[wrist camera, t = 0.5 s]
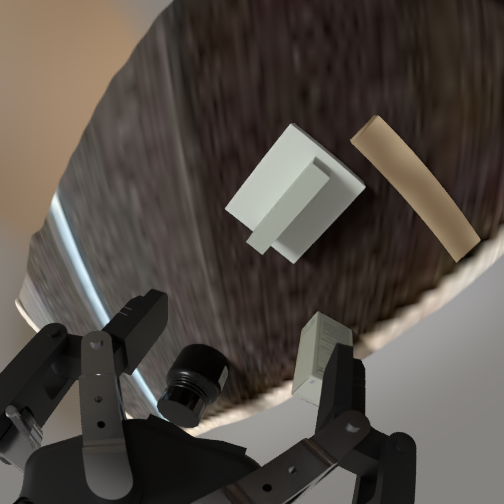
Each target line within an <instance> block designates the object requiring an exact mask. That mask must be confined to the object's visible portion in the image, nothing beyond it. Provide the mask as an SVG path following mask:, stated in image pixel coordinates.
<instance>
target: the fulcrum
mask: <svg viewBox="0 0 504 504" xmlns="http://www.w3.org/2000/svg"><path fill="white" fill-rule="evenodd" d="M364 188H365V184H364V182H363V181H362V180H361V179H360V178H359V177H358V176H357V175H356V174H355V173H354V172H352V171H351V170H350V169H349V168H348V167H347V166H346V165H344V164H343V163H342V162H341V161H340V160H339V159H338V158H336V157H335V156H334V155H333V154H332V153H330V152H329V151H328V150H327V149H326V148H324V147H323V146H322V145H321V144H320V143H318V142H317V141H316V140H315V139H313V138H312V137H311V136H310V135H308V134H307V133H306V132H305V131H303V130H302V129H301V128H300V127H298V126H297V125H296V124H294V123H292V124H290V125H289V126H288V128H287V129H286V130H285V131H284V133H283V134H282V135H281V136H280V138H279V139H278V140H277V142H276V143H275V144H274V145H273V147H272V148H271V149H270V150H269V152H268V153H267V154H266V156H265V157H264V158H263V159H262V161H261V162H260V163H259V165H258V166H257V167H256V168H255V170H254V171H253V172H252V174H251V175H250V176H249V178H248V179H247V180H246V181H245V183H244V184H243V185H242V187H241V188H240V189H239V191H238V192H237V193H236V195H235V196H234V197H233V199H232V200H231V201H230V203H229V204H228V205H227V207H226V208H225V209H226V210H227V211H228V212H229V213H231V214H232V215H233V216H235V217H236V218H237V219H238V220H240V221H241V222H242V223H243V224H245V225H246V226H247V227H248V228H250V229H251V230H252V231H253V233H252V234H251V236H250V237H249V239H248V240H247V243H248V244H250V245H251V246H252V247H253V248H255V249H256V250H257V251H258V252H260V253H261V254H262V255H263V253H264V252H265V251H266V250H267V249H268V248H269V247H270V246H272V247H273V248H275V249H276V250H277V251H278V252H280V253H281V254H282V255H283V256H285V257H286V258H287V259H288V260H290V261H291V262H292V263H293V264H294V263H295V262H296V261H297V260H298V259H299V258H300V257H301V256H302V255H303V253H304V252H305V251H306V250H307V249H308V248H309V247H310V246H311V245H312V244H313V243H314V242H315V241H316V240H317V239H318V238H319V237H320V236H321V235H322V234H323V233H324V231H325V230H326V229H327V228H328V227H329V226H330V225H331V224H332V223H333V222H334V221H335V220H336V219H337V218H338V217H339V216H340V214H341V213H342V212H343V211H344V210H345V209H346V208H347V207H348V206H349V205H350V204H351V203H352V202H353V200H354V199H355V198H356V197H357V196H358V195H359V194H360V193H361V192H362V191H363V190H364Z"/></svg>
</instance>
